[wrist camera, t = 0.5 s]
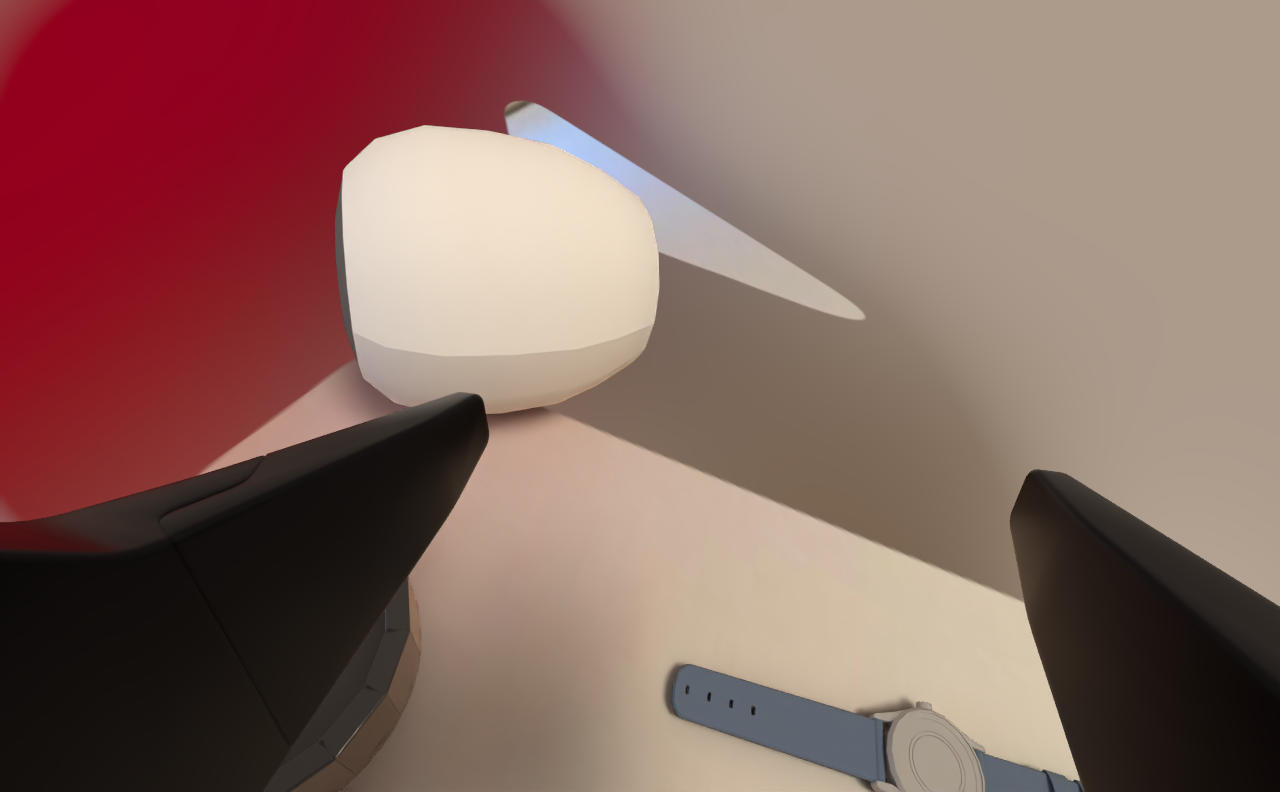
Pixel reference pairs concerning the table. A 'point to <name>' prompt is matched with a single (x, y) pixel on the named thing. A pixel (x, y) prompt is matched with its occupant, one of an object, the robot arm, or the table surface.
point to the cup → (490, 269)
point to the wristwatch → (856, 738)
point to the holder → (358, 705)
